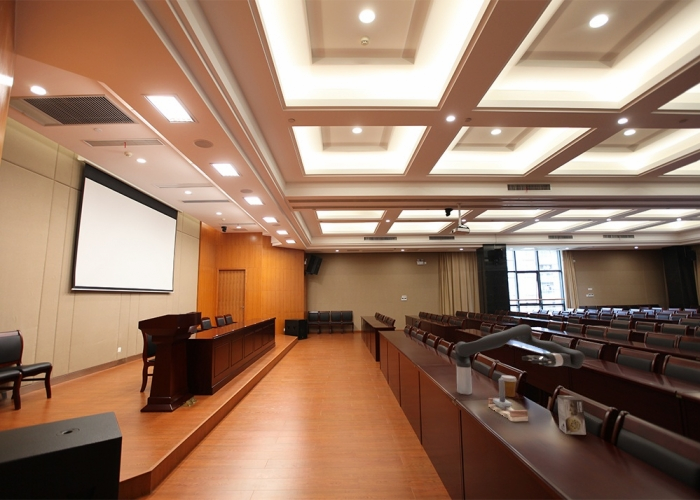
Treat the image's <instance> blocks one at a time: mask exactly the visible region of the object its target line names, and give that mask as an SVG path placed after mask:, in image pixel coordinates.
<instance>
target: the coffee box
mask: <svg viewBox="0 0 700 500" xmlns="http://www.w3.org/2000/svg"><path fill="white" fill-rule="evenodd" d="M556 398H557V411H558V413H557V414H558V424H559V425H558V427H559V430H561V431H562V432H563V433H564V434H566V435H583V436H585V435H586V436H587V432H586V422H585V421H586V420H585V411H584V400H583V399H582V398H580V397H579V396H576V395H566V394H565V395H563V394H561V395H560V394H559V395H558V394H557V396H556Z"/></svg>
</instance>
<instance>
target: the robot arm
mask: <svg viewBox="0 0 700 500" xmlns="http://www.w3.org/2000/svg"><path fill="white" fill-rule="evenodd" d="M515 338H517V340H518V341H520V342H521V343H524V344H526V345H530V346H532V347H534V348H538V349H541V350H543V351H546V352H543V353H542V354H541V355H530V354H529V355H526V356H525V355H524V356H521V360H522V361H530V362H531V364H535V365H536V364H539V365H543V366H544V367H559V366H561V367H564V366H565V367H570V368H573V369H580V368H582V366H583V364H584V360H585V354H584V352H582V351H580V350H577V349H572V348H568V347H564V346H562V345H560V344H558V343H557V342H554V341H549V340H540V339H538V338H537V337H534V336H533V329H532V327H531V325H529V324H519V325H516V326H514V327H511V328H508V329H505V330H503V331H499V332H495V333H491V334H488V335H485V336H483V337H481V338H479V339H477V340H474V341H470V342H465V341H458V342H457V343H456V344H455V346H454V347H455V350H454V352H455V362H456V392H457V393H458V394H460V395H468V396H469V395H472V390H473V389H472V364H471V360H470V356H471V355H474V354H477V353H479V352H480V353H481V352H485V351H489V350H493V349H497V348H501V347H503V346H505V345H506V344H507V343H509V342H510V341H512V340H513V339H515Z"/></svg>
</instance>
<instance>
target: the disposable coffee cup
mask: <svg viewBox="0 0 700 500" xmlns="http://www.w3.org/2000/svg"><path fill="white" fill-rule="evenodd" d="M500 379H504V384H505V397H508V398H509V397H510V398H515V397H516V385H517V377H516V376H514V375H506V374H503V375H502V374H501V376H500Z"/></svg>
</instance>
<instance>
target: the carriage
mask: <svg viewBox="0 0 700 500" xmlns="http://www.w3.org/2000/svg"><path fill="white" fill-rule="evenodd" d="M498 391H499V392H498V395H499V397H498V398H499V399H493V402H494V403H495V405H497V406H499V407H500V408H502V409H505V406H508V407H513V404H514V403H513V402H511V401H510V400H507V399H506V396H505V384H504V379H501V378H498Z"/></svg>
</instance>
